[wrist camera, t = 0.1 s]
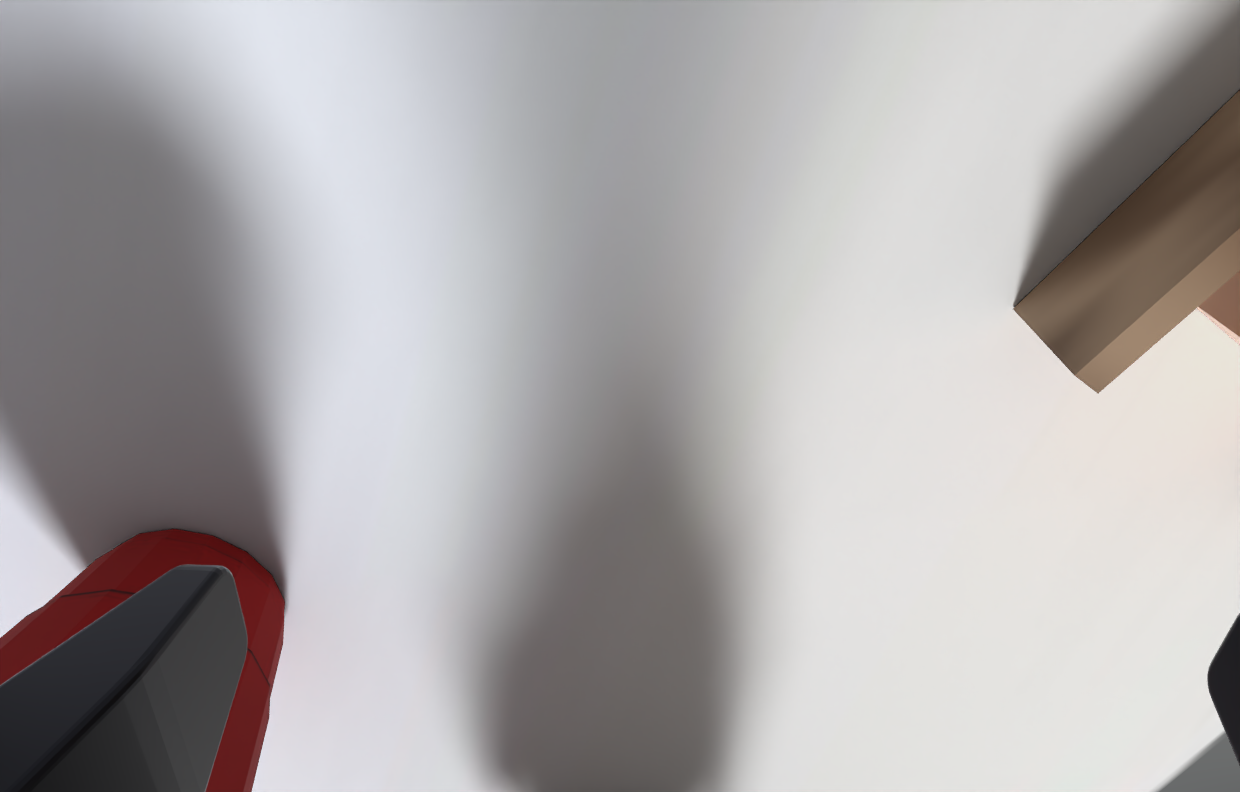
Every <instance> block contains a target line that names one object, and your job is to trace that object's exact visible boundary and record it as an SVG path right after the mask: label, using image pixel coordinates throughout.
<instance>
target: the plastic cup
mask: <svg viewBox="0 0 1240 792" xmlns="http://www.w3.org/2000/svg"><path fill="white" fill-rule="evenodd" d="M186 564H192V565H219V566H223V567H226V568H227V569H229V570H230V572H231V573H232V575H233V577H234V580H235V584H236V588H237V592H238V596H239V601H240V605H241V609H242V613H243V617H244V621H245V625H246V630H247V638H248V644H247V653H246V658H245V662H244V666H243V669H242V672H241V676H240V679H239V682H238V686H237V689H236V692H235V695H234V699H233V702H232V705H231V709H230V712H229V715H228V719H227V722H226V725H225V728H224V732H223V735H222V738H221V742H220V745H219V748H218V752H217V755H216V758H215V761H214V765H213V768H212V771H211V775H210V778H209V781H208V785H207V788H206V791H205V792H251V791H252V787H253V783H254V778H255V774H256V770H257V766H258V762H259V758H260V753H261V749H262V745H263V741H264V737H265V732H266V728H267V724H268V720H269V707H270V696H271V692H272V688H273V683H274V679H275V675H276V671H277V666H278V662H279V658H280V654H281V650H282V645H283V632H284V607H285V601H284V599H283V597H282V595H281V593H280V591H279V589H278V587H277V584H276V582H275V580H274V578H273V576H272V575H271V574H270V573H269V572H268V571H267V570H266V569H265V568H263V567H262V566H261V565H260V564H259V563H258V562H257V561H256V560H255V559H254V558H253V557H252V556H250V555H249V554H248V553H247V552H246V551H243V550H241V549H239V548H237V547H235V546H233V545H231V544H229V543H227V542H225V541H223V540H220V539H218V538H216V537H214V536H212V535H206V534H201V533H195V532H189V531H184V530H178V529H170V530H162V531H154V532H147V533H140V534H138V535H136V536H134V537H133V538H131V539H129V540H128V541H126V542H124V543H122V544H121V545H119V546H117V547H116V548H114V549H113V550H111V551H110V552H108V553H106V554H104V555H103V556H101V557H99V558H98V559H96V560H95V561H94V562H93V563H92V564H91V565H89V566H88V567H87V568H86V569H85V570H84V571H83V572H82V573H80V574H79V575H78V576H77V577H76V578H75V579H74V580H73V581H71V582H70V583H69V584H68V585H67V586H66V587H65V588H64V589H62V590H61V591H60V592H59V593H58V594H57V595H56V596H55V597H53V598H52V599H51V600H50V601H49V602H48V603H47V604H46V605H44V606H43V607H41V608H39V609H38V610H36V611H34V612H32V613H31V614H29V615H27V616H26V617H25V618H24V619H23V620H21V621H20V622H19V623H18V624H17V625H15V626H14V627H13V628H12V629H11V630H9V631H8V632H7V633H6V634H5V635H3V636H2V637H1V638H0V685H1V684H3V683H4V682H6V681H7V680H9V679H10V678H11V677H13V676H14V675H16V674H17V673H19V672H20V671H22V670H23V669H25V668H26V667H28V666H29V665H31V664H32V663H34V662H35V661H37V660H38V659H40V658H41V657H42V656H44V655H45V654H47V653H48V652H50V651H51V650H53V649H54V648H56V647H57V646H59V645H60V644H62V643H63V642H65V641H66V640H68V639H69V638H70V637H72V636H73V635H75V634H76V633H78V632H79V631H81V630H82V629H84V628H85V627H87V626H88V625H90V624H91V623H93V622H94V621H96V620H97V619H99V618H100V617H101V616H103V615H104V614H106V613H107V612H109V611H110V610H112V609H113V608H115V607H116V606H118V605H119V604H121V603H122V602H124V601H125V600H127V599H128V598H129V597H131V596H132V595H134V594H135V593H137V592H138V591H140V590H141V589H143V588H144V587H146V586H147V585H149V584H150V583H152V582H153V581H155V580H156V579H158V578H159V577H160V576H162V575H163V574H165V573H166V572H168V571H169V570H171V569H173V568H175V567H177V566H180V565H186Z"/></svg>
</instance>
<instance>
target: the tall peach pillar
mask: <svg viewBox="0 0 1240 792" xmlns="http://www.w3.org/2000/svg"><path fill="white" fill-rule="evenodd" d="M1197 309H1198V310H1199V311H1201V312H1202V313H1203V314H1204V315H1205V316H1206V317H1208V318H1209V319H1210V320H1211V321H1212V322H1213V323H1215V324H1216V325H1217V326H1218V327H1219V328H1220V329H1222V330H1223V331H1224V332H1225V333H1226V334H1227V335H1229V336H1230V337H1231V338H1232V339H1233V340H1234V341H1236V342H1237V343H1238V344H1239V345H1240V271H1239V272H1237V273H1236V274H1235V275H1234V276H1233V277H1232V278H1231V279H1229V280H1228V281H1227V282H1226V283H1225V284H1224V285H1222V286H1221V287H1220V288H1219V289H1218V290H1217V291H1216V292H1214V293H1213V294H1212V295H1211V296H1210V297H1209V298H1207V299H1206V300H1205V301H1204V302H1203V303H1202V304H1201V305H1199V306H1198V307H1197Z"/></svg>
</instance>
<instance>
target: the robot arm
mask: <svg viewBox="0 0 1240 792" xmlns="http://www.w3.org/2000/svg"><path fill="white" fill-rule="evenodd" d="M247 644H248V638H247V630H246V625H245V621H244V617H243V613H242V609H241V605H240V601H239V596H238V592H237V588H236V584H235V580H234V577H233V575H232V573H231V572H230V570H229V569H227V568H226V567H223V566H219V565H192V564H186V565H180V566H177V567H175V568H173V569H171V570H169V571H168V572H166V573H165V574H163V575H162V576H160V577H159V578H158V579H156V580H155V581H153V582H152V583H150V584H149V585H147V586H146V587H144V588H143V589H141V590H140V591H138V592H137V593H135V594H134V595H132V596H131V597H129V598H128V599H127V600H125V601H124V602H122V603H121V604H119V605H118V606H116V607H115V608H113V609H112V610H110V611H109V612H107V613H106V614H104V615H103V616H101V617H100V618H99V619H97V620H96V621H94V622H93V623H91V624H90V625H88V626H87V627H85V628H84V629H82V630H81V631H79V632H78V633H76V634H75V635H73V636H72V637H70V638H69V639H68V640H66V641H65V642H63V643H62V644H60V645H59V646H57V647H56V648H54V649H53V650H51V651H50V652H48V653H47V654H45V655H44V656H42V657H41V658H40V659H38V660H37V661H35V662H34V663H32V664H31V665H29V666H28V667H26V668H25V669H23V670H22V671H20V672H19V673H17V674H16V675H14V676H13V677H11V678H10V679H9V680H7V681H6V682H4V683H3V684H1V685H0V792H205V791H206V788H207V785H208V781H209V778H210V775H211V771H212V768H213V765H214V761H215V758H216V755H217V752H218V748H219V745H220V742H221V738H222V735H223V732H224V728H225V725H226V722H227V719H228V715H229V712H230V709H231V705H232V702H233V699H234V695H235V692H236V689H237V686H238V682H239V679H240V676H241V672H242V669H243V666H244V662H245V658H246V653H247ZM1208 688H1209V693H1210V696H1211V698H1212V701H1213V703H1214V706H1215V708H1216V710H1217V713H1218V715H1219V718H1220V720H1221V722H1222V725H1223V727H1224V730H1225V732H1226V734H1227V737H1228V739H1229V742H1230V744H1231V746H1232V749H1233V751H1234V754H1235V756H1236V758H1237V761H1238V763H1239V766H1240V613H1239V615H1238V616H1237V618H1236V620H1235V621H1234V623H1233V625H1232V627H1231V628H1230V630H1229V632H1228V634H1227V635H1226V637H1225V639H1224V641H1223V642H1222V644H1221V646H1220V648H1219V649H1218V651H1217V653H1216V655H1215V656H1214V658H1213V660H1212V662H1211V664H1210V666H1209V670H1208Z"/></svg>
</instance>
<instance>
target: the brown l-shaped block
mask: <svg viewBox="0 0 1240 792" xmlns="http://www.w3.org/2000/svg"><path fill="white" fill-rule="evenodd" d="M1239 271H1240V90H1239V91H1238V92H1237V93H1236V94H1235V95H1234V96H1233V97H1232V98H1231V99H1230V100H1229V101H1228V102H1227V103H1226V104H1225V105H1224V106H1223V107H1222V108H1221V109H1220V110H1218V111H1217V112H1216V113H1215V114H1214V115H1213V116H1212V117H1211V118H1210V119H1209V120H1208V121H1207V122H1206V123H1205V124H1204V125H1203V126H1202V127H1201V128H1200V129H1199V130H1198V131H1197V132H1196V133H1195V134H1194V135H1193V136H1192V137H1191V138H1190V139H1188V140H1187V141H1186V142H1185V143H1184V144H1183V145H1182V146H1181V147H1180V148H1179V149H1178V150H1177V151H1176V152H1175V153H1174V154H1173V155H1172V156H1171V157H1170V158H1169V159H1168V160H1167V161H1166V162H1165V163H1164V164H1163V165H1162V166H1161V167H1159V168H1158V169H1157V170H1156V171H1155V172H1154V173H1153V174H1152V175H1151V176H1150V177H1149V178H1148V179H1147V180H1146V181H1145V182H1144V183H1143V184H1142V185H1141V186H1140V187H1139V188H1138V189H1137V190H1136V191H1135V192H1134V193H1133V194H1132V195H1131V196H1129V197H1128V198H1127V199H1126V200H1125V201H1124V202H1123V203H1122V204H1121V205H1120V206H1119V207H1118V208H1117V209H1116V210H1115V211H1114V212H1113V213H1112V214H1111V215H1110V216H1109V217H1108V218H1107V219H1106V220H1105V221H1104V222H1103V223H1102V224H1100V225H1099V226H1098V227H1097V228H1096V229H1095V230H1094V231H1093V232H1092V233H1091V234H1090V235H1089V236H1088V237H1087V238H1086V239H1085V240H1084V241H1083V242H1082V243H1081V244H1080V245H1079V246H1078V247H1077V248H1076V249H1075V250H1074V251H1073V252H1072V253H1070V254H1069V255H1068V256H1067V257H1066V258H1065V259H1064V260H1063V261H1062V262H1061V263H1060V264H1059V265H1058V266H1057V267H1056V268H1055V269H1054V270H1053V271H1052V272H1051V273H1050V274H1049V275H1048V276H1047V277H1046V278H1045V279H1044V280H1043V281H1041V282H1040V283H1039V284H1038V285H1037V286H1036V287H1035V288H1034V289H1033V290H1032V291H1031V292H1030V293H1029V294H1028V295H1027V296H1026V297H1025V298H1024V299H1023V300H1022V301H1021V302H1020V303H1019V304H1018V305H1017V306H1016V307H1015V308H1014V310H1015V312H1016V313H1017V314H1018V315H1019V316H1020V317H1021V318H1022V319H1023V320H1024V321H1025V322H1026V323H1027V325H1028V326H1029V327H1030V328H1031V329H1032V330H1033V331H1034V332H1035V333H1036V334H1037V335H1038V336H1039V337H1040V339H1041V340H1042V341H1043V342H1044V343H1045V344H1046V345H1047V346H1048V347H1049V348H1050V349H1051V350H1052V352H1053V353H1054V354H1055V355H1056V356H1057V357H1058V358H1059V359H1060V360H1061V361H1062V362H1063V363H1064V365H1065V366H1066V367H1067V368H1068V369H1069V370H1070V371H1071V372H1072V373H1073V374H1074V375H1075V376H1076V377H1077V378H1079V379H1080V380H1081V381H1082V382H1084V383H1085V384H1086V385H1088V386H1089V387H1090V388H1092V389H1093V390H1094V391H1095V392H1097V393H1099V392H1100V391H1101V390H1103V389H1104V388H1105V387H1106V386H1107V385H1108V384H1110V383H1111V382H1112V381H1113V380H1114V379H1115V378H1116V377H1118V376H1119V375H1120V374H1121V373H1122V372H1123V371H1124V370H1126V369H1127V368H1128V367H1129V366H1130V365H1131V364H1133V363H1134V362H1135V361H1136V360H1137V359H1138V358H1139V357H1141V356H1142V355H1143V354H1144V353H1145V352H1146V351H1148V350H1149V349H1150V348H1151V347H1152V346H1153V345H1154V344H1156V343H1157V342H1158V341H1159V340H1160V339H1161V338H1163V337H1164V336H1165V335H1166V334H1167V333H1168V332H1169V331H1171V330H1172V329H1173V328H1174V327H1175V326H1176V325H1178V324H1179V323H1180V322H1181V321H1182V320H1183V319H1184V318H1186V317H1187V316H1188V315H1189V314H1190V313H1191V312H1193V311H1194V310H1195V309H1196V308H1197V307H1198V306H1199V305H1201V304H1202V303H1203V302H1204V301H1205V300H1206V299H1207V298H1209V297H1210V296H1211V295H1212V294H1213V293H1214V292H1216V291H1217V290H1218V289H1219V288H1220V287H1221V286H1222V285H1224V284H1225V283H1226V282H1227V281H1228V280H1229V279H1231V278H1232V277H1233V276H1234V275H1235V274H1236V273H1237V272H1239Z"/></svg>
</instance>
